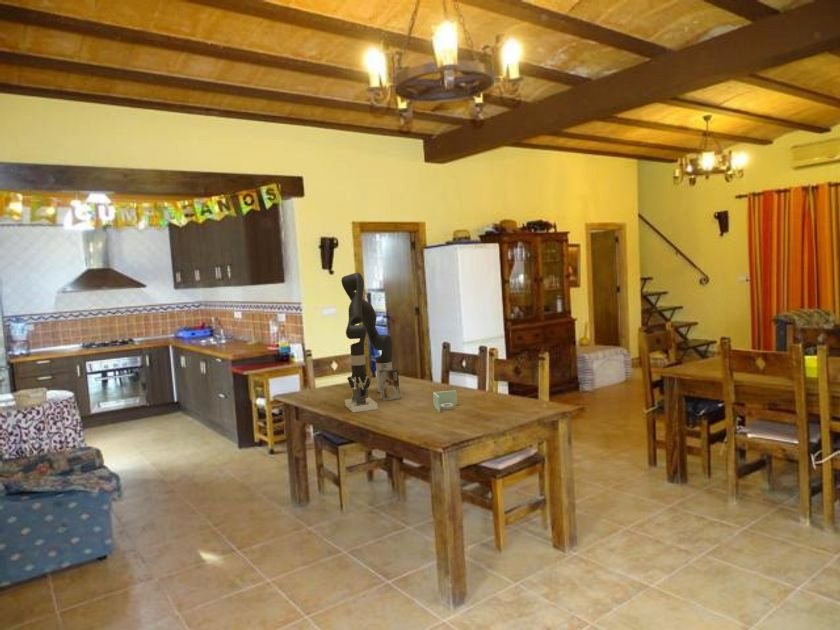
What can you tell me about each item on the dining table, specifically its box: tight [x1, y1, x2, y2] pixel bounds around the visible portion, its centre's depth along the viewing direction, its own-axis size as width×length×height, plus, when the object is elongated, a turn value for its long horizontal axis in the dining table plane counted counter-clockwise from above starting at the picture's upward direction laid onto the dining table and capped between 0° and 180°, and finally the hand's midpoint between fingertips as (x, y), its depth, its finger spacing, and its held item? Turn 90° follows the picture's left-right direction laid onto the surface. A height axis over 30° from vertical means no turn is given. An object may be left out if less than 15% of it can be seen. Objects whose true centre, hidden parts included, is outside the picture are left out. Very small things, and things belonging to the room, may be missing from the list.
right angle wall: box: [432, 389, 458, 413], centre depth 301 cm, size 12×12×8 cm
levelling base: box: [344, 394, 378, 413], centre depth 314 cm, size 13×18×6 cm
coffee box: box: [379, 368, 401, 402], centre depth 329 cm, size 9×6×16 cm
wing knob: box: [352, 386, 369, 403], centre depth 312 cm, size 8×5×8 cm, turn 136°
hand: (360, 396), depth 312 cm, fingers closed on wing knob, 3 cm apart
